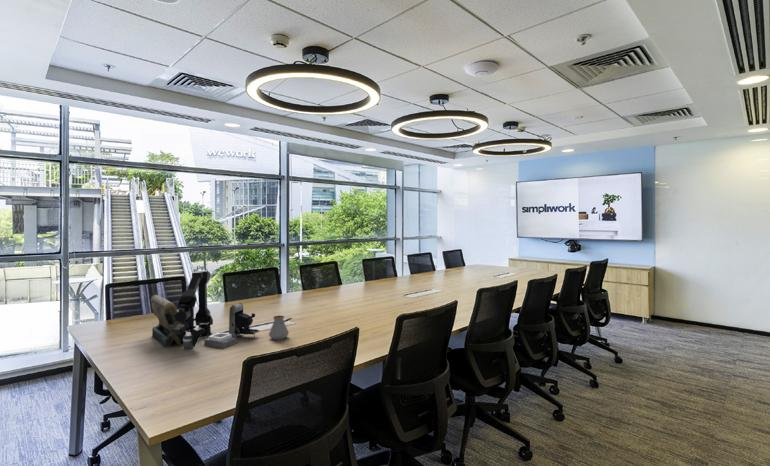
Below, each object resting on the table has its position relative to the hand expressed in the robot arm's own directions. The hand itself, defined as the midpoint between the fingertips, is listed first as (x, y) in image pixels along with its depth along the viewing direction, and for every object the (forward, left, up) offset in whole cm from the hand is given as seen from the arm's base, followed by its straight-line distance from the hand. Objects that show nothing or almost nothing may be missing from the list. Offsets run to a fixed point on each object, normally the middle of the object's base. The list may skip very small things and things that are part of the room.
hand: (188, 345), depth 216 cm
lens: (0, 0, -2) cm, 2 cm away
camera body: (+10, +13, -2) cm, 16 cm away
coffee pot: (+37, +34, -2) cm, 50 cm away
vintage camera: (+13, +29, -2) cm, 32 cm away
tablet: (-23, +7, -2) cm, 24 cm away
